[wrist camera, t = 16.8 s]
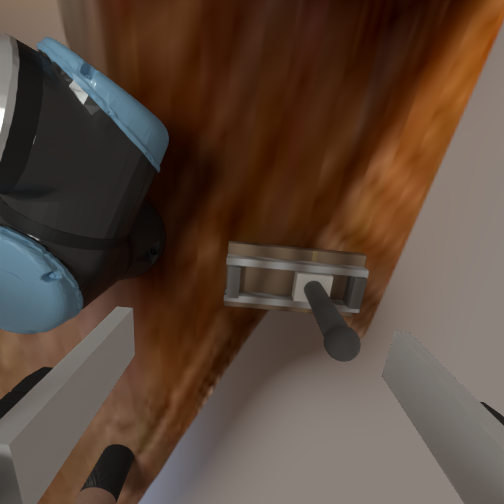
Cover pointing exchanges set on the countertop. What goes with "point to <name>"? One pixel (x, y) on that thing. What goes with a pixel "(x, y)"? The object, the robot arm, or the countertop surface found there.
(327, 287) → the slider
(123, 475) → the travel mug
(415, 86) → the countertop surface
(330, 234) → the countertop surface
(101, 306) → the countertop surface
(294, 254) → the rail base
